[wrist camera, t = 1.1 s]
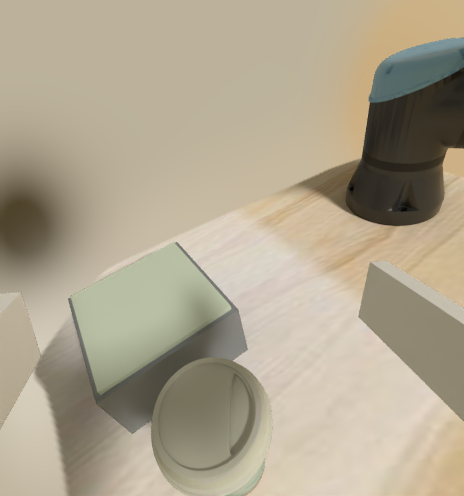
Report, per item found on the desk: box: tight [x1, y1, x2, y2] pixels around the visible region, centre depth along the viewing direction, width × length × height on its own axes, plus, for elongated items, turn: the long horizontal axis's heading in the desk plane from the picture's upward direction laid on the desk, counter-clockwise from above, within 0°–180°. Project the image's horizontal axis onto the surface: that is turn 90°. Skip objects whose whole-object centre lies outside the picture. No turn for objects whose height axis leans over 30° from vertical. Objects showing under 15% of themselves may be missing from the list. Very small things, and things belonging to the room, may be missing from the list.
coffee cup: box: [151, 357, 273, 496], centre depth 23 cm, size 8×8×12 cm
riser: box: [68, 242, 248, 434], centre depth 35 cm, size 15×15×9 cm
